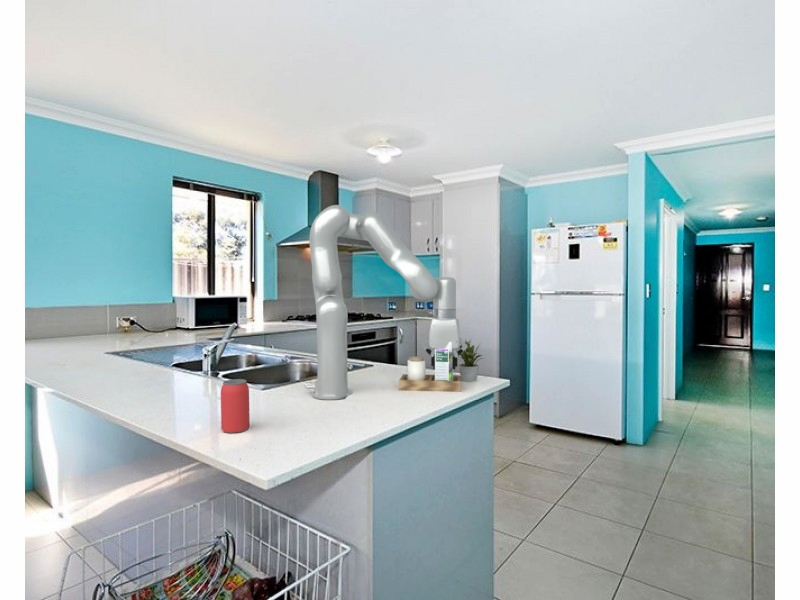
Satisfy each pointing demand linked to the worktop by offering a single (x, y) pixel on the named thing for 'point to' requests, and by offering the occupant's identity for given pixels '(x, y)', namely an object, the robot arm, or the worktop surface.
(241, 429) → the beer can
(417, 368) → the ceramic jar
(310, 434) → the worktop surface
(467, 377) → the house plant
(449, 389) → the wooden tray
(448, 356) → the syrup box
